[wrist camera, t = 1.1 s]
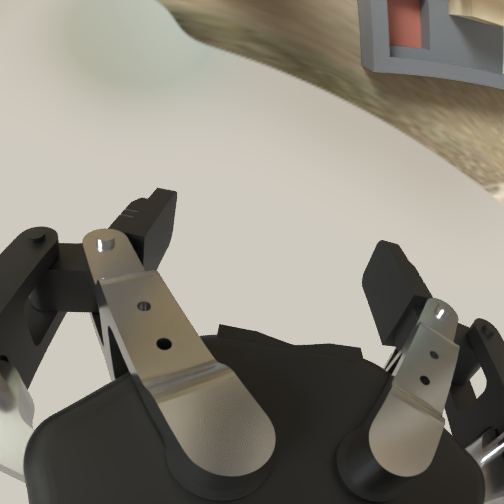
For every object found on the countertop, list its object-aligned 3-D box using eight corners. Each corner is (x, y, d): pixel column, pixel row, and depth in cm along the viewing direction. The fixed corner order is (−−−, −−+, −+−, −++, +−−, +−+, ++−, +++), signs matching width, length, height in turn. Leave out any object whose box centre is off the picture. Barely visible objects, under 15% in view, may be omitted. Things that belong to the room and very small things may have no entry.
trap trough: (344, -90, 15) (353, -104, 12) (531, -35, 12) (553, -34, 9) (361, 65, 27) (374, 72, 23) (533, 92, 24) (555, 104, 20)
